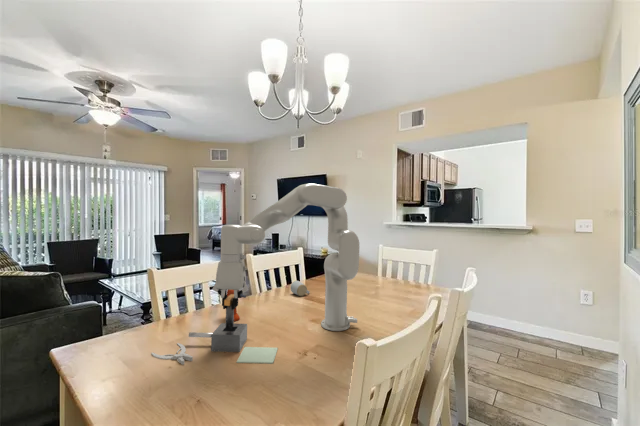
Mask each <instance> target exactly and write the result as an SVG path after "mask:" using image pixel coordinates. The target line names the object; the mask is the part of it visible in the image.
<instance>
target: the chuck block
mask: <svg viewBox="0 0 640 426" xmlns="http://www.w3.org/2000/svg"><path fill="white" fill-rule="evenodd" d="M188 337H189V338H211V339H210V340H211V343H210V348H211V349H210V351H211V352H215V353H217V352H219V353H221V352H222V353H225V352H226V353H240V352H241V350H243V347H244V345H245V343H246V342H247V340H248V323H234V325H233V326H232V327H226V322H221V323H220V324H219V325H218V327H216V329H214V331H213V332H192V331H191V332H188Z"/></svg>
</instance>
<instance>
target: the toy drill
mask: <svg viewBox="0 0 640 426" xmlns="http://www.w3.org/2000/svg"><path fill="white" fill-rule="evenodd" d="M240 290H241V289H240ZM240 290H239V291H240ZM230 294H234V290H227V296H229V295H230ZM246 297H247V296H246V295H245V294H243V293H242V294H241V295H240V296H239V297H238V299H242V298H246ZM240 319H241V317H240V316H239V313H237V307H236V308H235V309H234V322H238V321H240Z"/></svg>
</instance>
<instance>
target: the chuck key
mask: <svg viewBox="0 0 640 426" xmlns="http://www.w3.org/2000/svg"><path fill="white" fill-rule="evenodd" d="M233 298H234V294H230V295H229V296H228V297H227V298H226V299H225V300H224V306H226V309H225V323H226V327H232V326H233V325H234V324H235V323H234V322H235V321H234V309H232V307H233Z"/></svg>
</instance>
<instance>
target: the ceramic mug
mask: <svg viewBox="0 0 640 426" xmlns="http://www.w3.org/2000/svg"><path fill="white" fill-rule="evenodd" d="M290 292H291V293H293V294H294V295H296V296H299V297H304V296H305V295H306V294H308V295H309V294H310V292H311V291H310V290H308V287H307V285H305V284H304V283H303V282H301V281H299V280H295V281H293V282H292V283H291V284H290Z"/></svg>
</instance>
